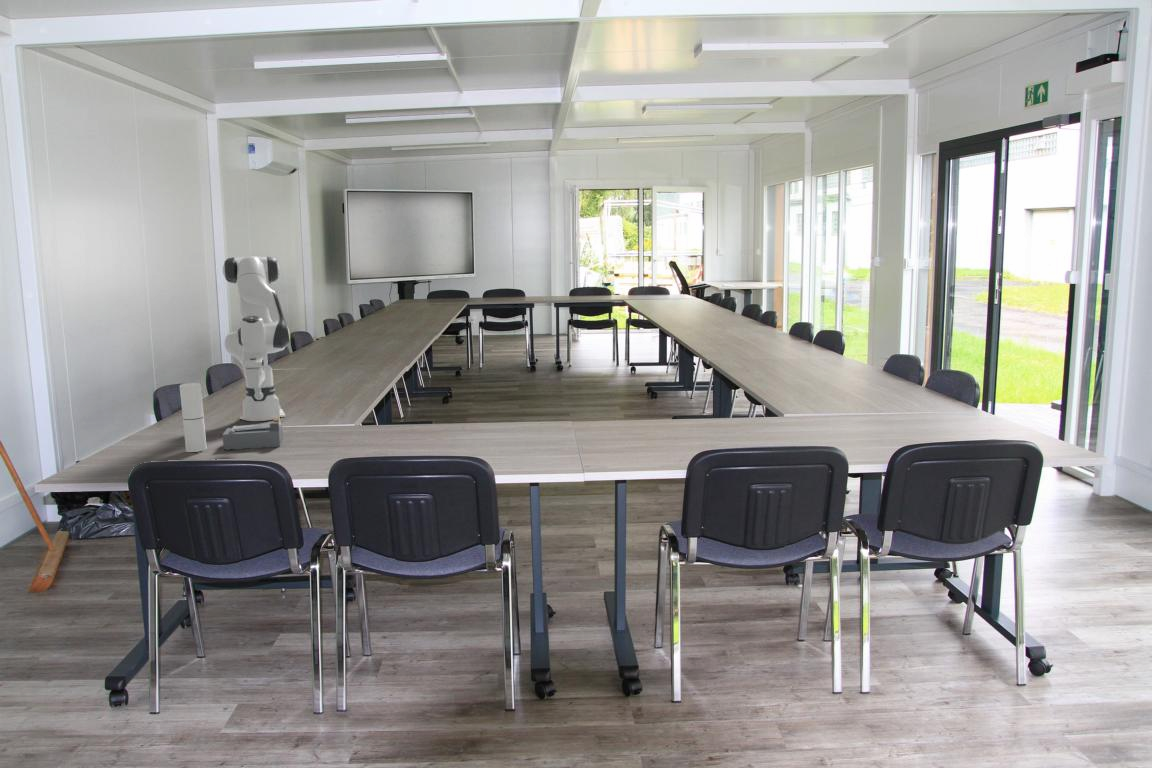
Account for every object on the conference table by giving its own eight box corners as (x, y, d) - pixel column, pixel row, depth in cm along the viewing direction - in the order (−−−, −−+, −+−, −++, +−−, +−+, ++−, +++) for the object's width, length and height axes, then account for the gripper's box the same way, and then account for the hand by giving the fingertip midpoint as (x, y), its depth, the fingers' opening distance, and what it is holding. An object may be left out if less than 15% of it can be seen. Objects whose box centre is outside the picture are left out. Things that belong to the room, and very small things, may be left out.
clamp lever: (234, 429, 329) (233, 422, 328) (280, 424, 332) (279, 417, 332) (232, 431, 325) (231, 424, 325) (279, 426, 329) (278, 419, 328)
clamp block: (228, 443, 333) (226, 420, 331) (283, 439, 337) (281, 417, 335) (223, 450, 322) (221, 426, 321) (280, 446, 326) (278, 423, 325)
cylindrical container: (188, 454, 318) (181, 387, 313) (184, 450, 323) (177, 384, 319) (208, 450, 322) (202, 384, 317) (204, 447, 327) (198, 382, 323)
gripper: (250, 356, 334) (253, 391, 336) (242, 364, 314) (245, 401, 317) (267, 355, 335) (270, 390, 338) (260, 363, 315) (263, 400, 318)
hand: (258, 396), depth 327 cm, fingers closed
